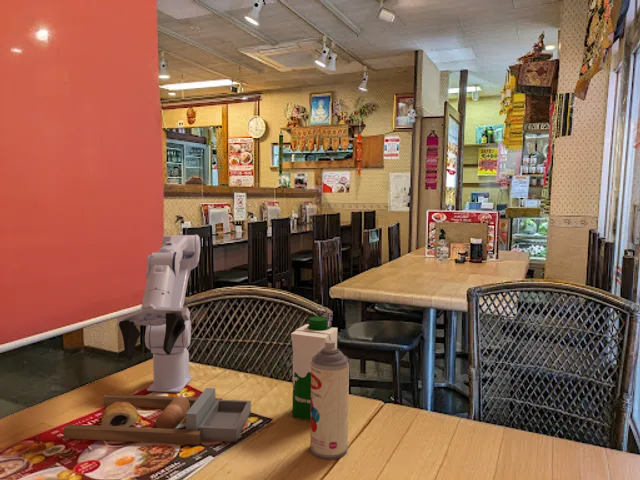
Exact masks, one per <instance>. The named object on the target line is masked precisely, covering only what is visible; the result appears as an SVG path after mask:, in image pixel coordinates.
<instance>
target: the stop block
mask: <svg viewBox="0 0 640 480" xmlns="http://www.w3.org/2000/svg"><path fill="white" fill-rule="evenodd" d="M197 398H198V399H197V400H196V401H195V403H194V404H193V405H192V407H191V408H190V409H189V410H188V412H187V413H186V415H185V430H198V427H199V426H200V424H201V423H202V421H203V420H204V418H205V417H206V415H207V414H208V413H209V411H210V410H211V408H212V407H213V405H214V404H215V402H216V401H215V398H216V388H215V387H206V388H204V390H203V391H202V392H201V394H200V395H199V396H198V397H197Z"/></svg>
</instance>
